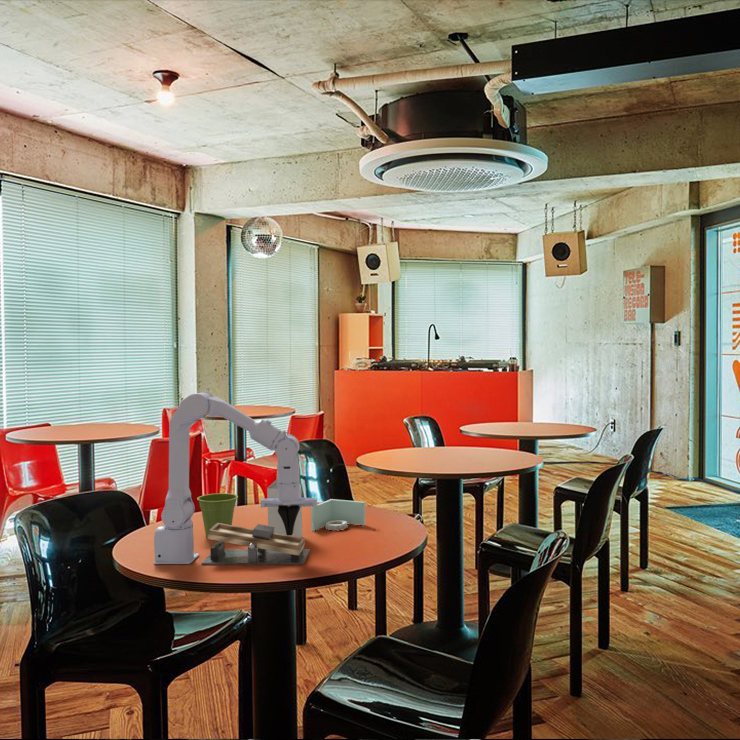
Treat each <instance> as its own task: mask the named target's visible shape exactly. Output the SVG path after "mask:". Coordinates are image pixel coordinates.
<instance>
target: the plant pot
mask: <svg viewBox="0 0 740 740" xmlns="http://www.w3.org/2000/svg"><path fill="white" fill-rule="evenodd" d="M238 498H239V496H238V495H237V494H234V493H225V492H224V493H222V492H220V493H209V494H203V495H201V496H198V497H197V498H196V499H197V501H198V504H199V508H200V510H201V516H202V521H203V522H202V523H203V527H204V533H205V536H206V537H208V532H209V530H210V529H211V528H212V527H213V526H214V525H215V524H217V523H222V524H227V525H233V518H234V514H235V512H234V511H235V508H236V503H237V499H238Z"/></svg>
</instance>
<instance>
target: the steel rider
mask: <svg viewBox="0 0 740 740" xmlns="http://www.w3.org/2000/svg"><path fill="white" fill-rule="evenodd" d="M274 528H275V527H272V526H268V525H266V524H265V525H264V524H260V523H258V524H256V526H255V527H254V528H253V529H254V530H253V536H252V537H255V538H260V539H266V540H272V539H273V535H274Z"/></svg>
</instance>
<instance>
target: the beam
mask: <svg viewBox="0 0 740 740" xmlns="http://www.w3.org/2000/svg"><path fill="white" fill-rule="evenodd" d="M253 530H254V528H248V527H243V526H237V525H233V524H232V525H227V524H222V523H217V524H215V525H214V526H213V527H212V528H211V529H210V530H209V532H208V536H206V537H207V539H208V540H212V541H213V540H214V541H216V542H224V543H230V544H235V545H241V546H245V547H248V544H249V543H257V548H261V549H266V550H271V551H277V552H282V553H288V554H293V555H300V553H301V551H302V550H303V549H305V548H304V547H305V543H306V538H303V537H301V538H298V537H293V536H287V535H282V534H276V533H274V535H273V539H272V540H266V539H260V538H255V537H252V536H253Z"/></svg>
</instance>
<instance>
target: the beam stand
mask: <svg viewBox="0 0 740 740" xmlns="http://www.w3.org/2000/svg"><path fill="white" fill-rule="evenodd" d="M225 543H226V542H223V541H216V542H215V543H214V544H213V545H212V546H211V547H210V551H209V552H210V553H209V554H208V555H207V557H206V558H205V559H203V560H202V561H201V562H200V564H201V566H203V565H204V564H205V565H206V566H208V565H209V566H224V565H225V566H236V565H238V566H240V565H241V566H244V565H245V566H247V565H248V566H252V565H253V566H254V565H255V566H256V565H258V566H261V565H263V566H264V565H265V566H266V565H267V566H273V565H274V566H275V565H276V566H280V565H283V566H284V565H285V566H287V565H288V566H290V565H291V566H292V565H293V566H296V565H298V566H299V565H302V566H303V565H304V564H305V562H306V560H307V558H308V556H309V554H310V552H311V548H303V550H302V551H301V553H300V555H293V554H288V553H282V552H277V551H271V550H266V549H261V548H257V543H249V544H248V546H247V548H245V549H244V548H241V549H238V548H234V549H232V548H231V549H227V548H225V547H226V546H225ZM205 565H204V566H205Z"/></svg>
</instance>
